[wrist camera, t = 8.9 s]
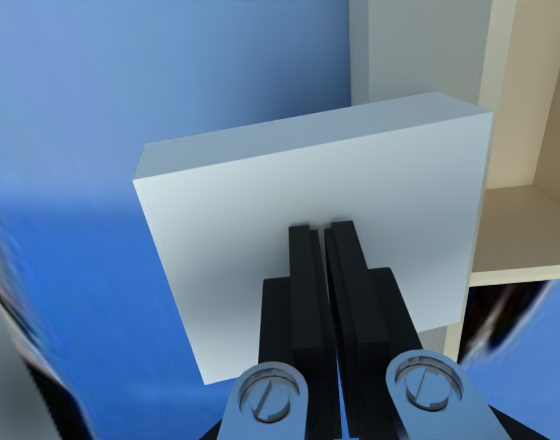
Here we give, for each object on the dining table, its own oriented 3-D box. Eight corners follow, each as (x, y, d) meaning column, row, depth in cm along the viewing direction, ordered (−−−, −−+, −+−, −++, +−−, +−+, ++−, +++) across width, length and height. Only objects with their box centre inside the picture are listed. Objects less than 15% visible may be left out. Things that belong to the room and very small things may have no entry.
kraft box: (620, -126, 20) (862, -209, 12) (540, 194, 30) (641, 275, 22) (345, -83, 22) (386, -131, 13) (354, 213, 31) (381, 297, 23)
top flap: (568, -166, 7) (31, -106, 6) (460, 405, 15) (233, 466, 14) (384, -83, 13) (118, -49, 12) (380, 283, 22) (221, 320, 21)
